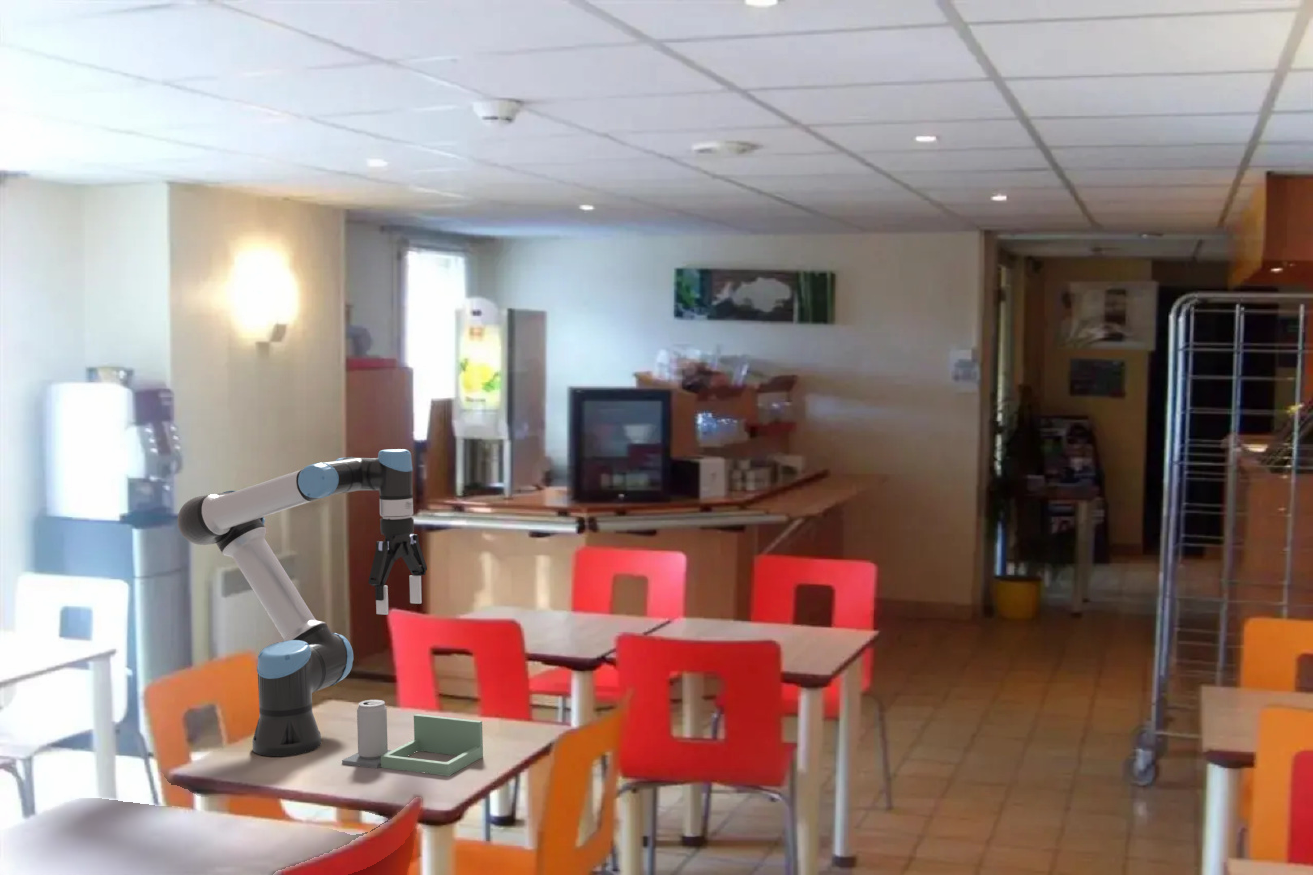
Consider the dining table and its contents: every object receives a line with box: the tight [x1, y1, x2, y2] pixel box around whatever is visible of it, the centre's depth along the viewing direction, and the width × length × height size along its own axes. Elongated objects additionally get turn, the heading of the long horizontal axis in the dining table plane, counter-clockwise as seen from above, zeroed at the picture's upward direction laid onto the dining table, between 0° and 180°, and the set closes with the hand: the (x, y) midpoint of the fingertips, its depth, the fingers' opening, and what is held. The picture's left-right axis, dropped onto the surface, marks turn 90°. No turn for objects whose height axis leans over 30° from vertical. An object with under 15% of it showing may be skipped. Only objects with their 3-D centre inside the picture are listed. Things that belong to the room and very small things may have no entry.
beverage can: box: [356, 699, 389, 759], centre depth 297 cm, size 6×6×12 cm
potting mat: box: [341, 749, 393, 769], centre depth 298 cm, size 9×10×1 cm
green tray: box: [380, 713, 484, 777], centre depth 295 cm, size 17×14×8 cm
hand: (399, 608), depth 310 cm, fingers open, 13 cm apart
